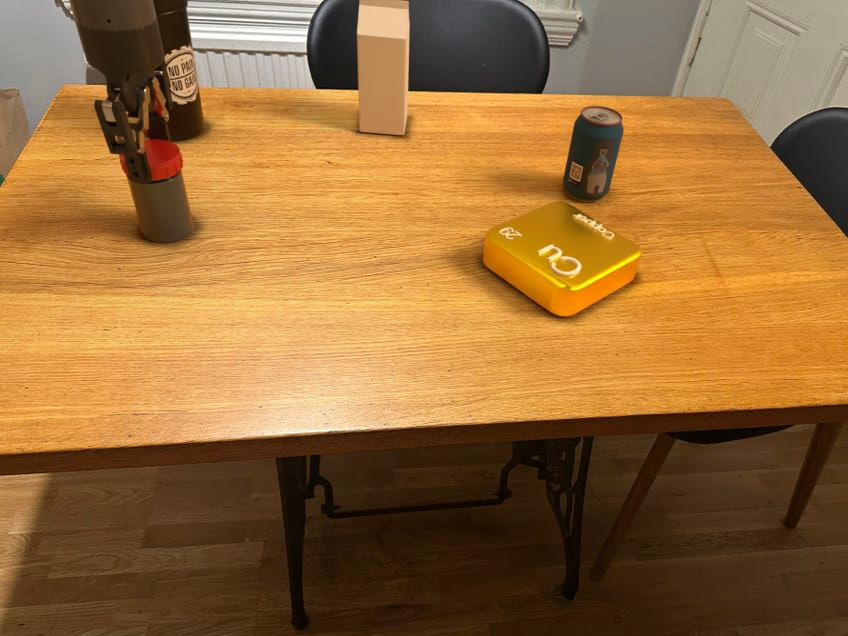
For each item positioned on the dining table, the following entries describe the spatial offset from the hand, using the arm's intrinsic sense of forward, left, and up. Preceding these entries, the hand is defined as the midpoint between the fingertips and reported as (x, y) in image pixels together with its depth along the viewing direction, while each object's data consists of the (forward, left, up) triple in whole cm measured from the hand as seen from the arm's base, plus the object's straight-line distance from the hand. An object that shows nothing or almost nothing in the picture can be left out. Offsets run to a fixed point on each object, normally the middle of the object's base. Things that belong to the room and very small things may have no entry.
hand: (152, 166), depth 81 cm
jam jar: (0, 0, -9) cm, 9 cm away
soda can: (+55, +17, -9) cm, 58 cm away
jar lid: (0, 0, +1) cm, 1 cm away
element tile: (+49, -3, -9) cm, 50 cm away
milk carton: (+24, +34, -9) cm, 42 cm away
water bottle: (-7, +27, -9) cm, 29 cm away
